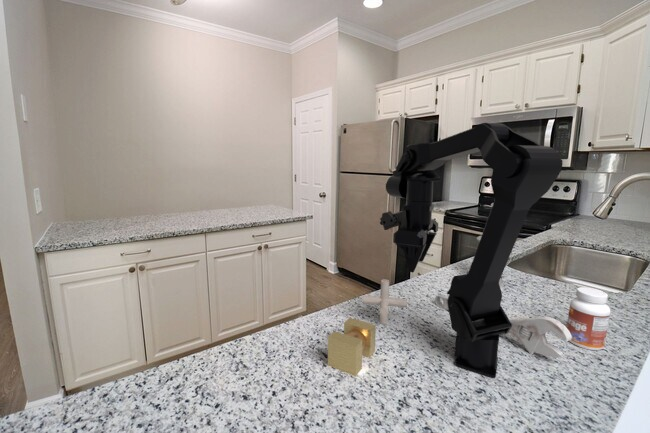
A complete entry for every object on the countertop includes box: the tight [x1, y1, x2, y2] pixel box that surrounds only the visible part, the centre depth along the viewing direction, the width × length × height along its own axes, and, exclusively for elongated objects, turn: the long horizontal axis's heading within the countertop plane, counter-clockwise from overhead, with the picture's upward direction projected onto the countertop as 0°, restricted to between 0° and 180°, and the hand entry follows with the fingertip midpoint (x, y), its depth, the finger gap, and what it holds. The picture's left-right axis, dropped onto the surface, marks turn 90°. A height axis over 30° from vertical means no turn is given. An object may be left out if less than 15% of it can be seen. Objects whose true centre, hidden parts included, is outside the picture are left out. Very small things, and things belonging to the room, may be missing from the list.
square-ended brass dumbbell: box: [327, 317, 377, 377], centre depth 57 cm, size 8×6×6 cm, turn 148°
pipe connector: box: [361, 278, 408, 325], centre depth 70 cm, size 10×10×10 cm
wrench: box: [434, 294, 572, 358], centre depth 67 cm, size 8×2×30 cm
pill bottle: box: [566, 286, 611, 351], centre depth 62 cm, size 6×6×11 cm
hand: (416, 266), depth 72 cm, fingers open, 9 cm apart
